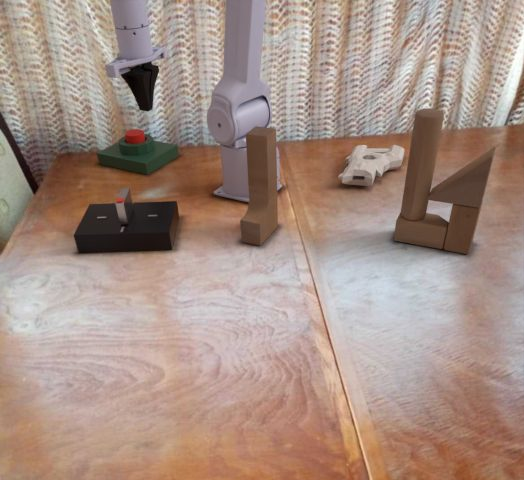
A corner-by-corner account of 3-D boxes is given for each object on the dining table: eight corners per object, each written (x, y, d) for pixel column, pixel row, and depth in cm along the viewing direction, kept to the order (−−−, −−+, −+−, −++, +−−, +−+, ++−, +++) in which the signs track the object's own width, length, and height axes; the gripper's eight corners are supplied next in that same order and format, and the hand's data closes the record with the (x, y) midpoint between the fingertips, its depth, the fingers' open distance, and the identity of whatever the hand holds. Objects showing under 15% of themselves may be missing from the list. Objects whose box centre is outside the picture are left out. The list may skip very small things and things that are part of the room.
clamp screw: (126, 209, 84) (121, 186, 81) (134, 209, 84) (129, 186, 81) (120, 225, 80) (114, 201, 77) (128, 224, 80) (123, 201, 77)
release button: (149, 140, 104) (147, 130, 103) (137, 146, 102) (135, 137, 101) (134, 137, 106) (133, 128, 104) (122, 143, 103) (120, 134, 102)
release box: (179, 155, 107) (176, 135, 104) (147, 175, 101) (143, 153, 98) (132, 146, 112) (128, 126, 109) (99, 164, 105) (94, 143, 103)
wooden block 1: (259, 222, 85) (255, 125, 75) (278, 226, 84) (276, 128, 74) (241, 242, 81) (234, 142, 71) (260, 246, 80) (256, 145, 70)
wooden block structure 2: (468, 255, 76) (501, 124, 64) (392, 241, 79) (411, 115, 68) (472, 243, 78) (504, 114, 66) (398, 230, 82) (417, 106, 70)
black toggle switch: (179, 217, 87) (176, 199, 85) (172, 250, 80) (169, 231, 78) (93, 221, 88) (89, 203, 85) (78, 253, 80) (72, 234, 78)
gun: (396, 173, 88) (336, 169, 91) (394, 193, 90) (335, 189, 93) (406, 139, 102) (353, 136, 104) (404, 158, 104) (352, 154, 106)
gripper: (140, 16, 97) (153, 96, 106) (84, 33, 88) (103, 119, 97) (171, 18, 95) (182, 100, 104) (117, 36, 85) (134, 124, 94)
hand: (146, 109), depth 100 cm, fingers closed
